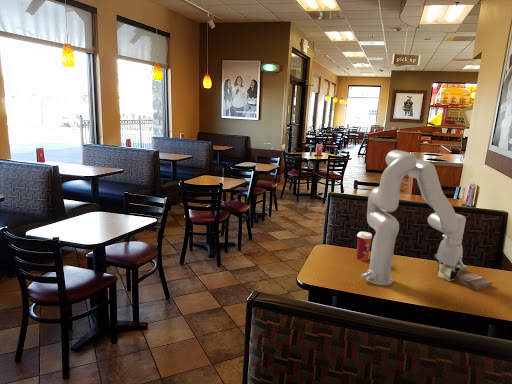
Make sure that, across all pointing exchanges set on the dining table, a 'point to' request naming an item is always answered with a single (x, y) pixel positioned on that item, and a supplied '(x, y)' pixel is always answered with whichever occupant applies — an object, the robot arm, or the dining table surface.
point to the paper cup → (363, 245)
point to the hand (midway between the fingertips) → (446, 275)
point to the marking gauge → (447, 271)
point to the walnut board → (472, 280)
